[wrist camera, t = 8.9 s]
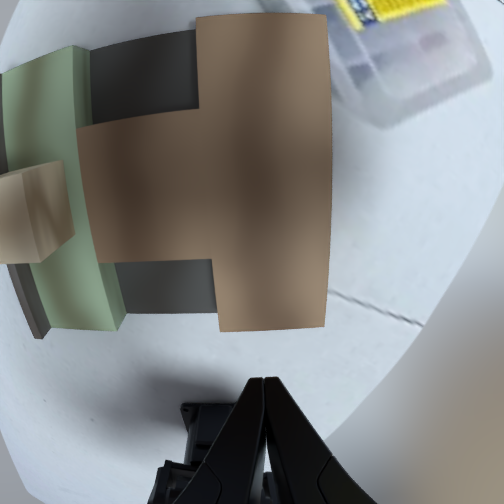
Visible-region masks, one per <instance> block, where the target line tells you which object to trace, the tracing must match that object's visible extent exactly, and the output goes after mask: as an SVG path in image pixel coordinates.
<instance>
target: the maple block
mask: <svg viewBox="0 0 504 504" xmlns="http://www.w3.org/2000/svg"><path fill="white" fill-rule="evenodd" d="M74 235H75V229H74V224H73V219H72V214H71V209H70V203H69V197H68V191H67V185H66V178H65V171H64V164H63V160H58V161H53V162H49V163H44V164H40V165H35V166H31V167H27V168H23V169H19V170H15V171H11V172H8V173H5V174H2V175H0V264H18V263H41V262H42V261H43V260H44V259H46V258H47V257H48V256H49V255H50V254H52V253H53V252H54V251H55V250H57V249H58V248H59V247H60V246H62V245H63V244H64V243H65V242H67V241H68V240H69V239H70V238H72V237H73V236H74Z"/></svg>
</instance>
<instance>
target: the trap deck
mask: <svg viewBox="0 0 504 504" xmlns="http://www.w3.org/2000/svg"><path fill="white" fill-rule="evenodd" d="M58 160H63V164H64V171H65V178H66V185H67V191H68V197H69V203H70V209H71V214H72V219H73V224H74V229H75V235H74V236H73V237H72V238H70V239H69V240H68V241H67V242H65V243H64V244H63V245H62V246H60V247H59V248H58V249H57V250H55V251H54V252H53V253H52V254H50V255H49V256H48V257H47V258H46V259H44V260H43V261H42V262H41V263H18V264H7V267H8V271H9V274H10V277H11V280H12V283H13V286H14V288H15V291H16V294H17V297H18V300H19V302H20V305H21V307H22V310H23V313H24V315H25V318H26V320H27V322H28V325H29V327H30V330H31V332H32V334H33V336H34V338H35V339H43V338H44V336H45V335H46V334H47V332H48V331H49V330H50V329H51V327H52V328H65V329H80V330H98V331H117V330H118V328H119V326H120V325H121V323H122V321H123V319H124V317H125V316H126V314H127V313H135V314H177V313H218V320H219V328H220V332H241V331H266V330H285V329H301V328H315V327H324V324H325V313H326V301H327V288H328V273H329V256H330V236H331V209H332V105H331V79H330V60H329V45H328V32H327V20H326V15H320V14H303V13H246V14H228V15H216V16H206V17H197V18H196V29H195V30H187V31H180V32H173V33H167V34H161V35H155V36H150V37H145V38H140V39H135V40H130V41H126V42H122V43H117V44H113V45H109V46H106V47H102V48H98V49H95V50H91V51H89V50H86V49H83V48H80V47H77V46H74V45H72V46H69V47H66V48H63V49H60V50H57V51H54V52H52V53H49V54H47V55H44V56H41V57H39V58H36V59H34V60H32V61H29V62H27V63H25V64H22V65H20V66H18V67H16V68H13V69H11V70H9V71H7V72H5V73H3V74H0V175H2V174H5V173H8V172H11V171H15V170H19V169H23V168H27V167H31V166H35V165H40V164H44V163H49V162H53V161H58Z"/></svg>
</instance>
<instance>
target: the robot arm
mask: <svg viewBox="0 0 504 504" xmlns="http://www.w3.org/2000/svg"><path fill="white" fill-rule="evenodd" d="M180 410H181V413H182V417H183V420H184V423H185V426H186V429H187V432H188V438H187V445H186V451H185V458H184V464H181V463H175V462H172V461H170V460H165V464H164V467H159V468H158V471H157V475H156V480H155V484H154V487H153V489H152V492H151V495H150V497H149V500H148V503H147V504H377V503H376V502H375V501H374V500H373V499H372V498H371V497H370V496H369V495H368V494H367V493H365V491H364V490H363V489H361V487H359V485H358V484H357V483H356V482H355V481H354V480H353V479H352V478H351V477H350V476H349V475H348V473H347V472H346V471H345V470H344V468H343V467H342V466H341V465H340V463H339V462H338V461H337V459H336V458H335V456H332V453H331V451H330V450H329V448H328V447H327V446H326V444H325V443H324V442H323V440H322V439H321V437H320V436H319V435H318V433H317V432H316V430H315V429H314V428H313V426H312V425H311V423H310V422H309V420H308V419H307V418H306V416H305V415H304V413H303V412H302V411H301V409H300V408H299V406H298V405H297V403H296V402H295V400H294V399H293V398H292V396H291V395H290V393H289V392H288V390H287V389H286V387H285V386H284V384H283V383H282V381H281V380H280V379H279V378H278V377H265V378H264V379H263V378H262V377H256V378H250V379H249V380H248V382H247V384H246V385H245V387H244V389H243V391H242V393H241V395H240V396H239V398H238V400H237V402H236V404H189V403H184V404H182V405H181V408H180ZM266 440H267V449H268V455H269V460H270V465H271V470H272V472H265V473H264V463H265V453H266Z"/></svg>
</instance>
